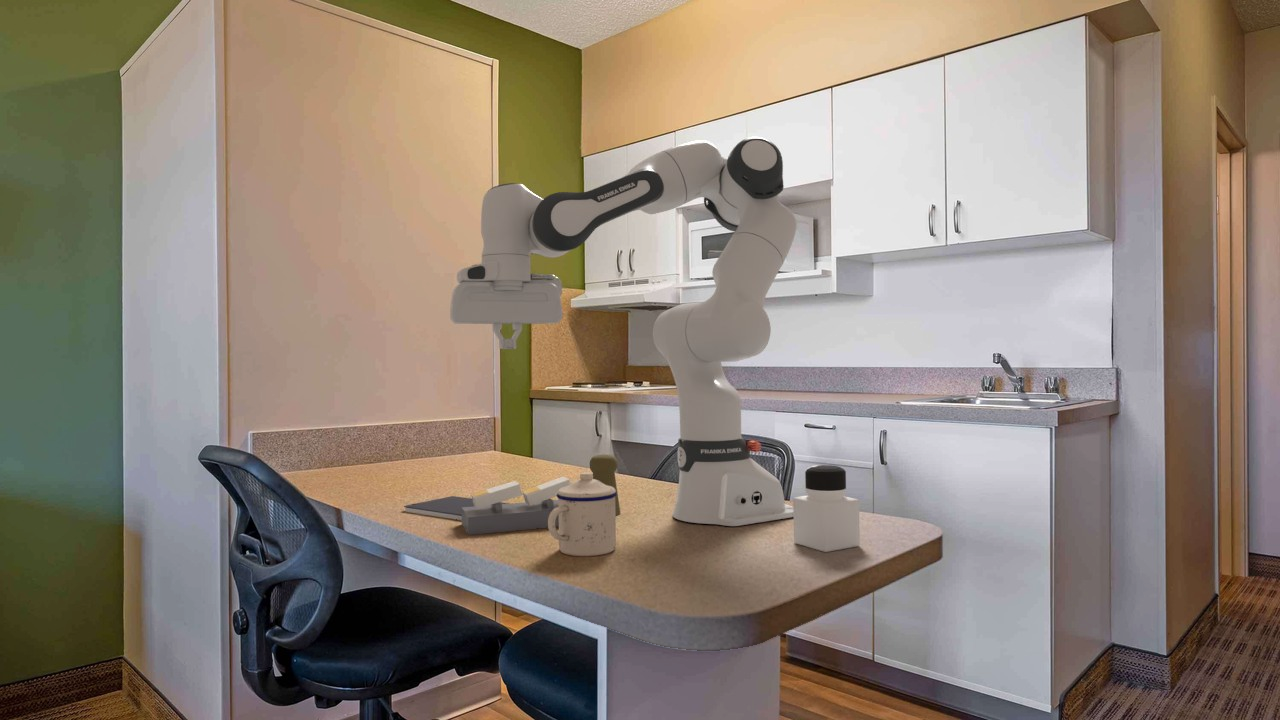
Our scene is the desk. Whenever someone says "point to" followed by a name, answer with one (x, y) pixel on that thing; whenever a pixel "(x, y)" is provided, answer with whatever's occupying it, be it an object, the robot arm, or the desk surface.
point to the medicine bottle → (826, 511)
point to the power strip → (508, 517)
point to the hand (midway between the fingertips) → (507, 348)
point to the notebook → (442, 507)
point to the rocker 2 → (544, 491)
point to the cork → (606, 473)
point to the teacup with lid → (585, 518)
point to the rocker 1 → (496, 494)
